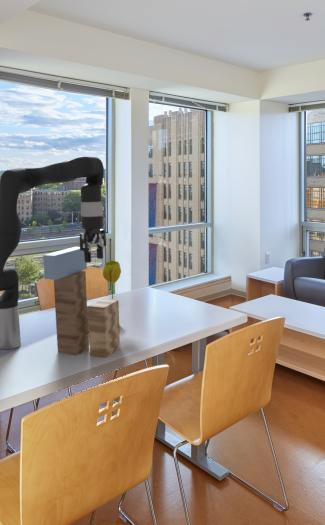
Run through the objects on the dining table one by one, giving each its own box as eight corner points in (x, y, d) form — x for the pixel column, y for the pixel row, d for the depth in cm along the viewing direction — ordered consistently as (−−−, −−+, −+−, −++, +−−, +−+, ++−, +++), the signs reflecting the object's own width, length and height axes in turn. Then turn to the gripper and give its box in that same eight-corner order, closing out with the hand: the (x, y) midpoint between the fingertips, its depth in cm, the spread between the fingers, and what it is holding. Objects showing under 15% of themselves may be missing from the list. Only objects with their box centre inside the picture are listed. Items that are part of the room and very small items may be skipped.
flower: (107, 320, 230) (105, 260, 225) (123, 320, 229) (121, 260, 224) (103, 326, 221) (101, 263, 216) (120, 326, 221) (118, 263, 215)
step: (106, 357, 182) (104, 307, 179) (90, 355, 185) (88, 306, 181) (119, 347, 193) (118, 299, 190) (104, 345, 196) (102, 298, 192)
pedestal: (77, 355, 185) (73, 275, 180) (57, 352, 189) (53, 274, 183) (88, 347, 194) (85, 271, 188) (70, 344, 197) (66, 269, 191)
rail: (56, 279, 173) (54, 255, 171) (44, 279, 174) (43, 255, 173) (86, 268, 193) (85, 247, 191) (76, 268, 195) (75, 246, 193)
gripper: (91, 216, 157) (93, 264, 160) (111, 213, 170) (113, 257, 173) (71, 216, 160) (74, 263, 163) (93, 213, 173) (95, 256, 176)
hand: (94, 260), depth 168 cm, fingers open, 8 cm apart
